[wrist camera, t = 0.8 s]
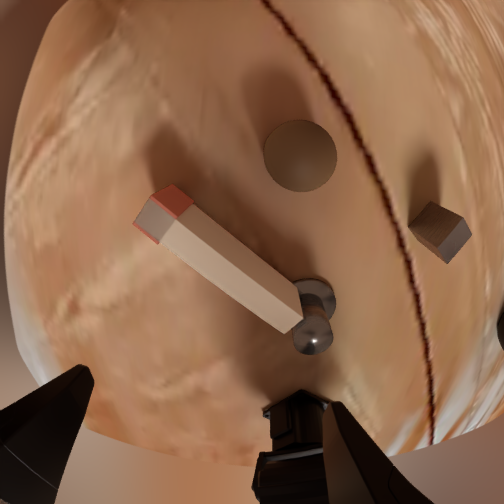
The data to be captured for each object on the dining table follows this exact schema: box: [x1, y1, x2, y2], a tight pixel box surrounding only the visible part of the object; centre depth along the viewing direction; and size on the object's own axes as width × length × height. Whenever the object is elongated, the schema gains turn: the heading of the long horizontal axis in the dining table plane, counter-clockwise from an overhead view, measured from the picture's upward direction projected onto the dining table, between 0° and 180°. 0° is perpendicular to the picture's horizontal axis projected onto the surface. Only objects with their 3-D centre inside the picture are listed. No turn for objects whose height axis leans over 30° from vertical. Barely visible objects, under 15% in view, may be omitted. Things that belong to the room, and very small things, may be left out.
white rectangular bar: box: [133, 184, 303, 334], centre depth 18 cm, size 12×2×4 cm, turn 50°
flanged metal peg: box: [291, 279, 336, 355], centre depth 20 cm, size 5×5×4 cm
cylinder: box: [264, 120, 337, 192], centre depth 16 cm, size 4×4×4 cm
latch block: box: [408, 202, 472, 264], centre depth 17 cm, size 2×3×4 cm, turn 140°
